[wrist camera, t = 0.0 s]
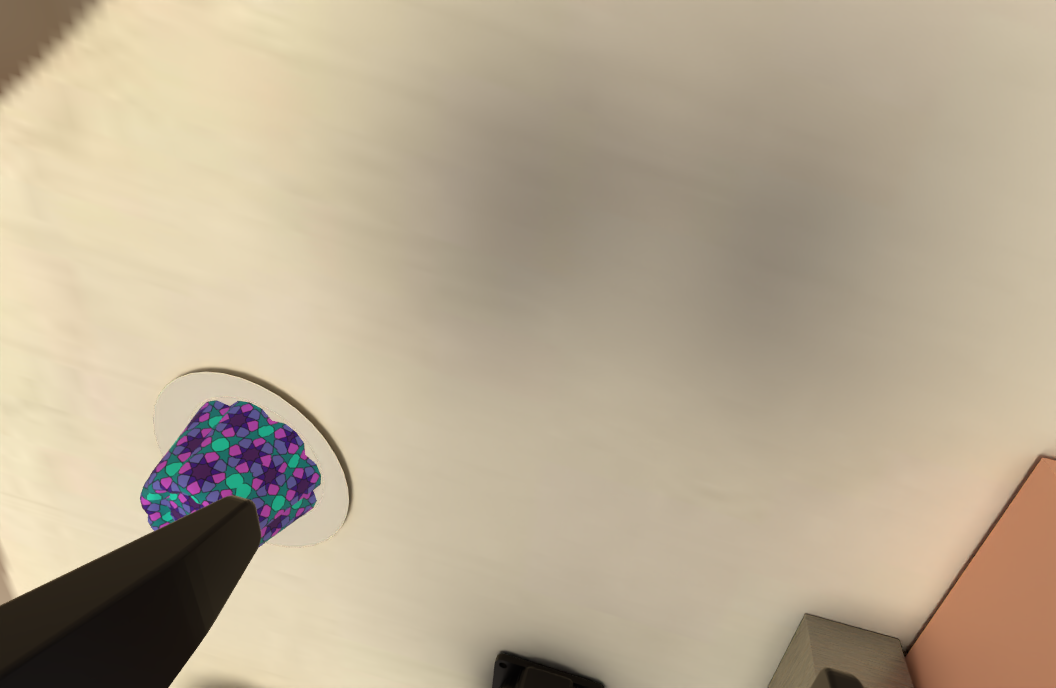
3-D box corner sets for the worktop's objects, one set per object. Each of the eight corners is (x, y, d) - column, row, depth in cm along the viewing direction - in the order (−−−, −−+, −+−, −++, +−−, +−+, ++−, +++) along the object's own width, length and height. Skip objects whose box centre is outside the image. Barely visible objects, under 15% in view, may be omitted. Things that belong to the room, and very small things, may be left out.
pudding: (398, 496, 31) (347, 575, 27) (276, 560, 37) (217, 633, 33) (234, 324, 28) (147, 380, 24) (130, 421, 34) (44, 481, 30)
